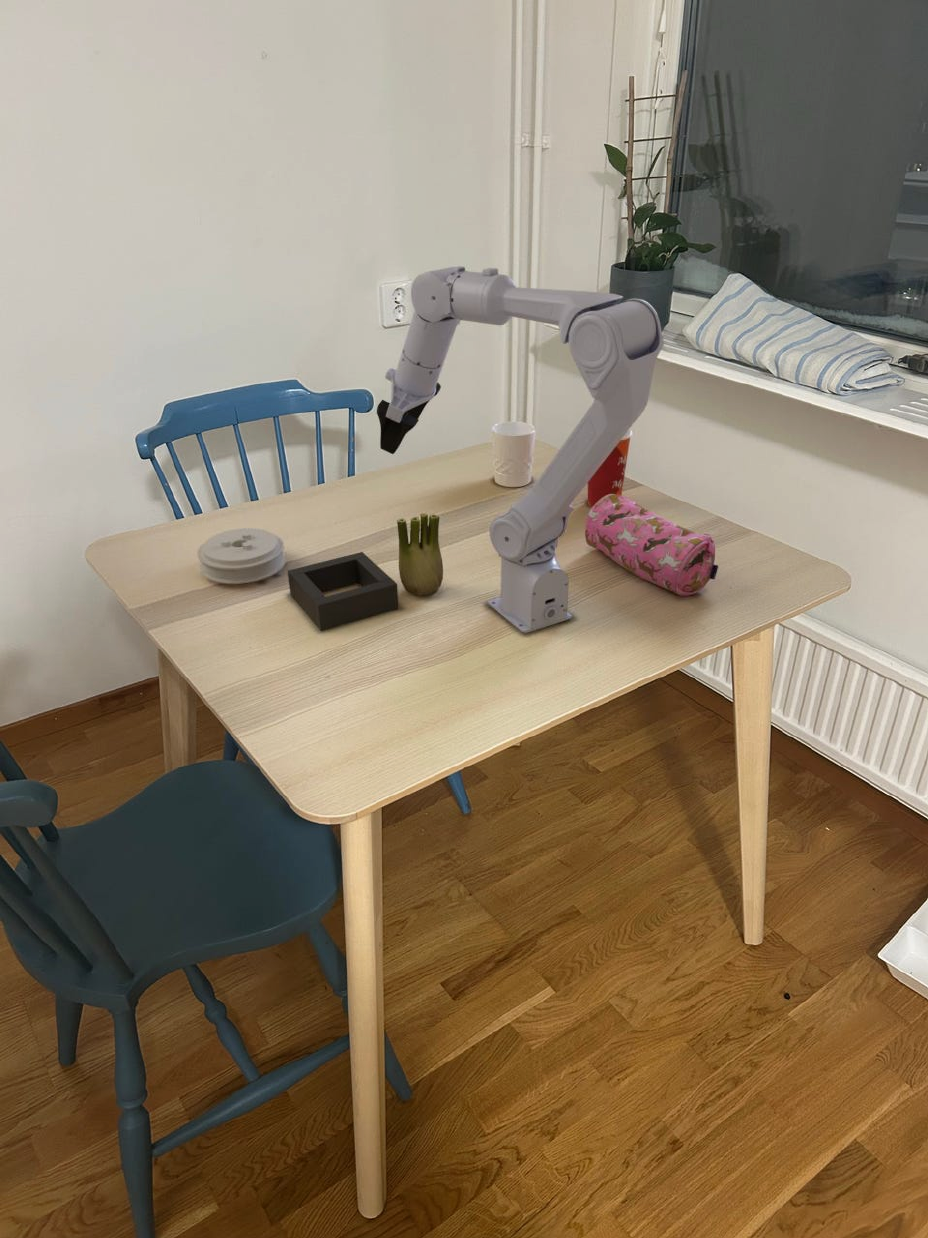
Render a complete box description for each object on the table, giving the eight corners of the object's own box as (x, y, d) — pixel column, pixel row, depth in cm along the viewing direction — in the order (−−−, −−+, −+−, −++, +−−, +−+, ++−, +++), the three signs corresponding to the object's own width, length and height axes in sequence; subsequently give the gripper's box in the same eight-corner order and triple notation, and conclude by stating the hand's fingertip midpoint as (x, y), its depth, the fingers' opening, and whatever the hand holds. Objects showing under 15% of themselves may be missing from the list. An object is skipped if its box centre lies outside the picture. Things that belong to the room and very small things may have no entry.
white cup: (488, 487, 161) (488, 434, 156) (494, 471, 168) (494, 420, 163) (531, 489, 160) (533, 436, 155) (535, 473, 167) (537, 422, 162)
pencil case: (721, 588, 128) (730, 532, 124) (675, 606, 124) (683, 549, 119) (618, 536, 143) (623, 484, 139) (574, 551, 139) (578, 498, 134)
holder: (398, 609, 124) (397, 583, 122) (320, 631, 119) (318, 605, 117) (364, 575, 132) (362, 551, 130) (290, 595, 127) (287, 570, 125)
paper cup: (629, 512, 151) (636, 432, 144) (584, 512, 152) (589, 432, 144) (622, 494, 158) (629, 417, 151) (579, 494, 158) (584, 417, 151)
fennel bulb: (398, 597, 127) (394, 520, 120) (407, 581, 131) (404, 506, 125) (437, 601, 125) (435, 524, 119) (446, 585, 130) (444, 509, 123)
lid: (261, 594, 128) (257, 563, 125) (184, 582, 131) (178, 552, 128) (300, 556, 138) (297, 527, 136) (228, 546, 141) (223, 517, 139)
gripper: (414, 320, 122) (389, 401, 132) (376, 366, 112) (352, 450, 121) (460, 342, 122) (432, 421, 132) (426, 390, 112) (399, 472, 122)
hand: (397, 436), depth 127 cm, fingers open, 7 cm apart
